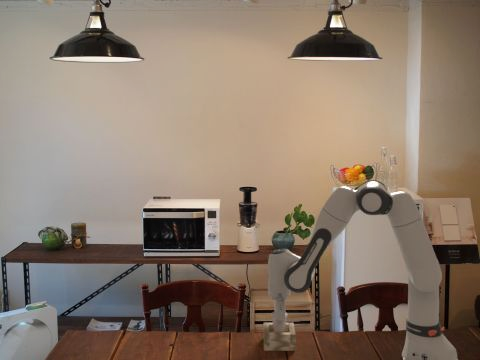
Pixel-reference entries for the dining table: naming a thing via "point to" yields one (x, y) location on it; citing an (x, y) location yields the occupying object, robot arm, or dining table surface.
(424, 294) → the robot arm
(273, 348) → the box
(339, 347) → the dining table surface
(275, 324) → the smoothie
